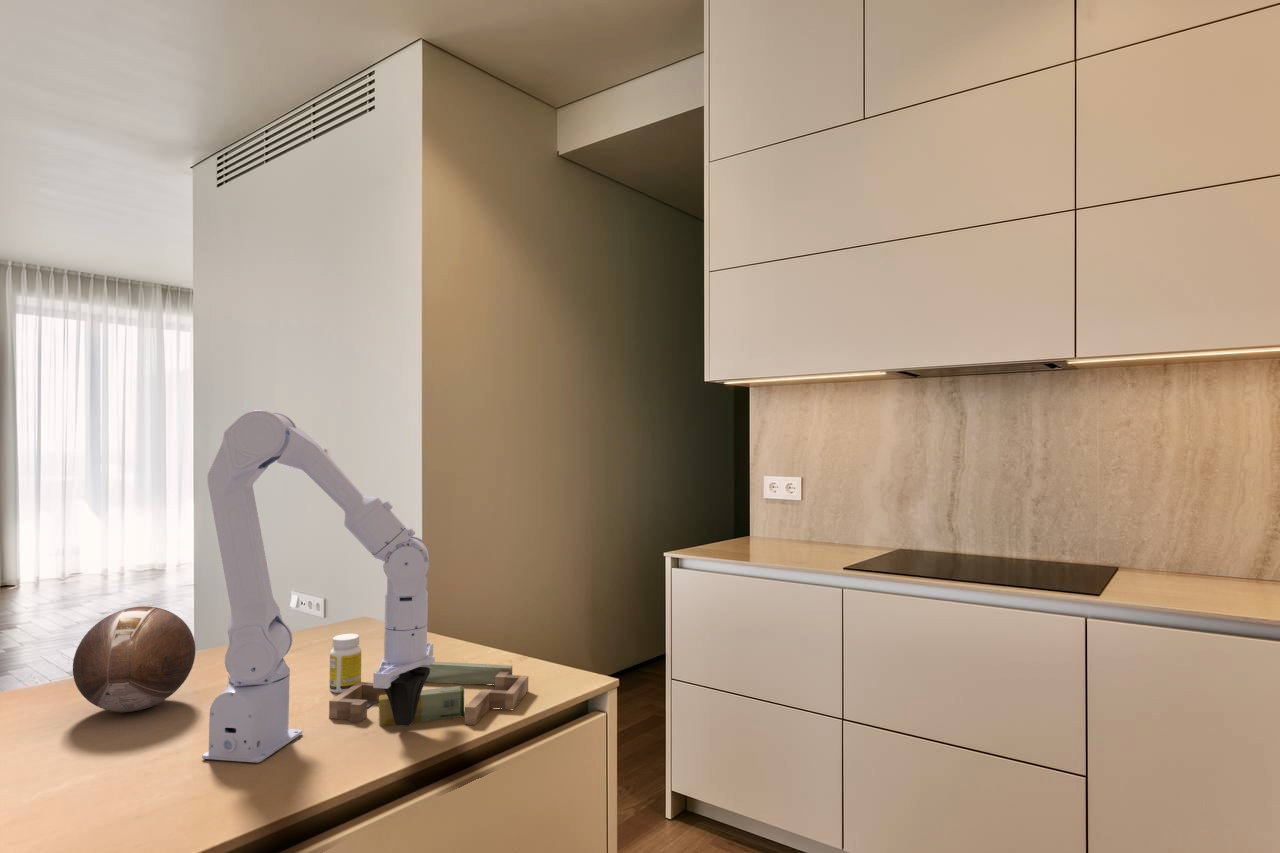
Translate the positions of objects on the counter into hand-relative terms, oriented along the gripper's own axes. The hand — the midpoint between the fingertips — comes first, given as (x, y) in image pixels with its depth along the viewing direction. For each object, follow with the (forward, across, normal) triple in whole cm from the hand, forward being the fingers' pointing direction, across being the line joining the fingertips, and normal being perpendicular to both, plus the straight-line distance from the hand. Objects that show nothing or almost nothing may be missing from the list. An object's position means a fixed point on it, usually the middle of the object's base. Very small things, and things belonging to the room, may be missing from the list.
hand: (404, 723), depth 101 cm
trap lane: (+1, +11, 0) cm, 11 cm away
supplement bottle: (+1, +15, +17) cm, 23 cm away
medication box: (+2, +5, 0) cm, 5 cm away
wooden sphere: (+1, +2, +43) cm, 43 cm away
